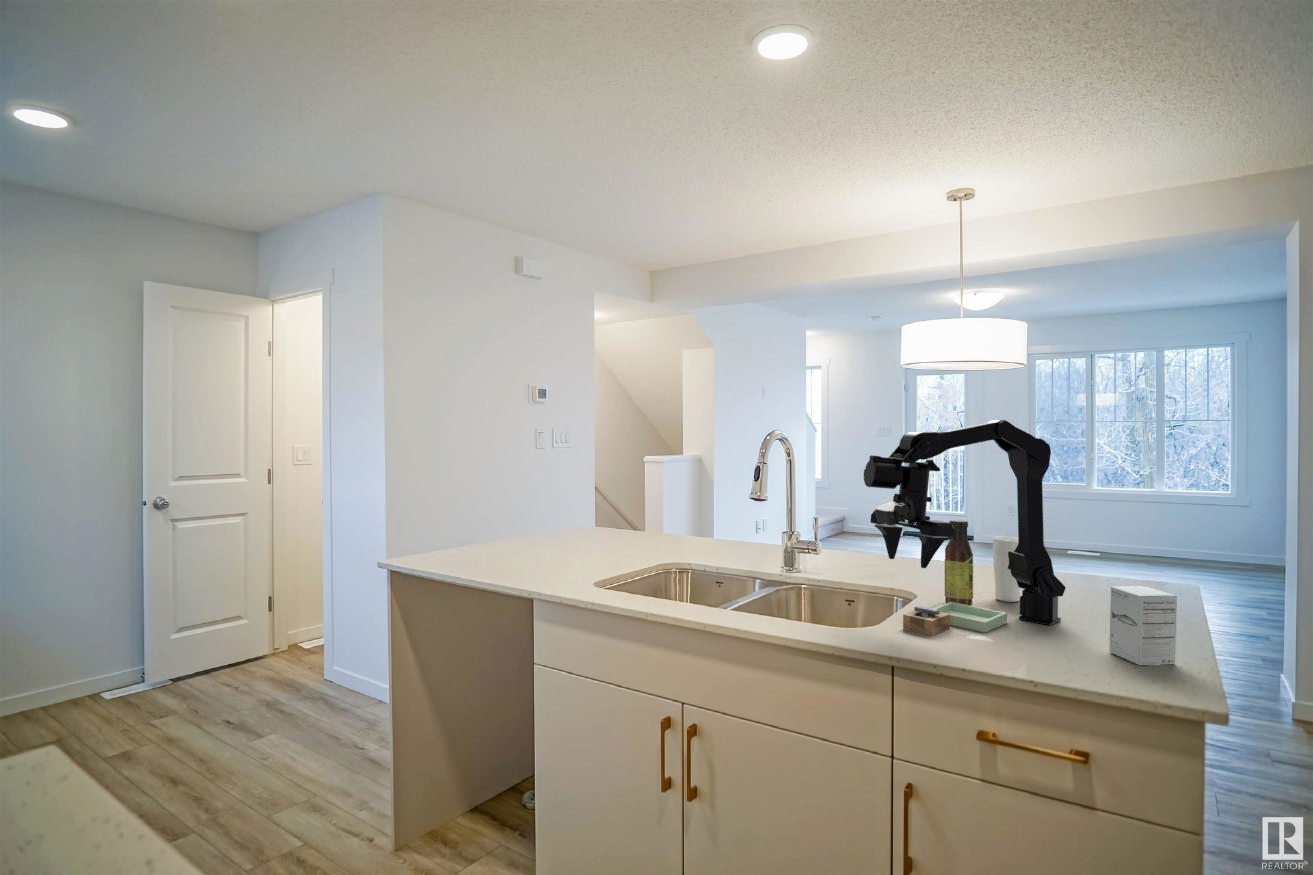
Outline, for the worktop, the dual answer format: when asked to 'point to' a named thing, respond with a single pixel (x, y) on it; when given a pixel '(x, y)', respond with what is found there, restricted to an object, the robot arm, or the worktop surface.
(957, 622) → the tray
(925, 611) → the grey t-shaped knob
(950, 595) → the sauce bottle
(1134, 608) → the supplement box
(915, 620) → the collar
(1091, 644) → the worktop surface
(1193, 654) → the worktop surface
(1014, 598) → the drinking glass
